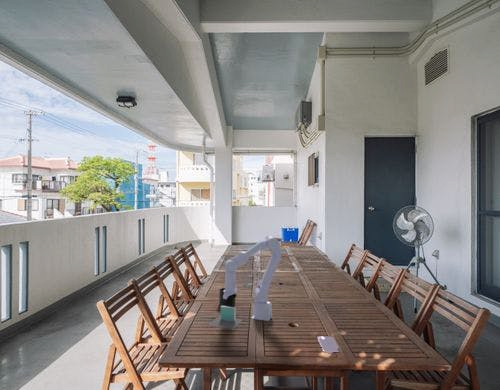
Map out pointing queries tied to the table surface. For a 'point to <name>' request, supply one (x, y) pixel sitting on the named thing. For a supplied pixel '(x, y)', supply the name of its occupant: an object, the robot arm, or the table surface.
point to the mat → (225, 323)
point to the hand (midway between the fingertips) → (230, 308)
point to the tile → (228, 313)
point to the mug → (222, 301)
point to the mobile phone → (328, 344)
